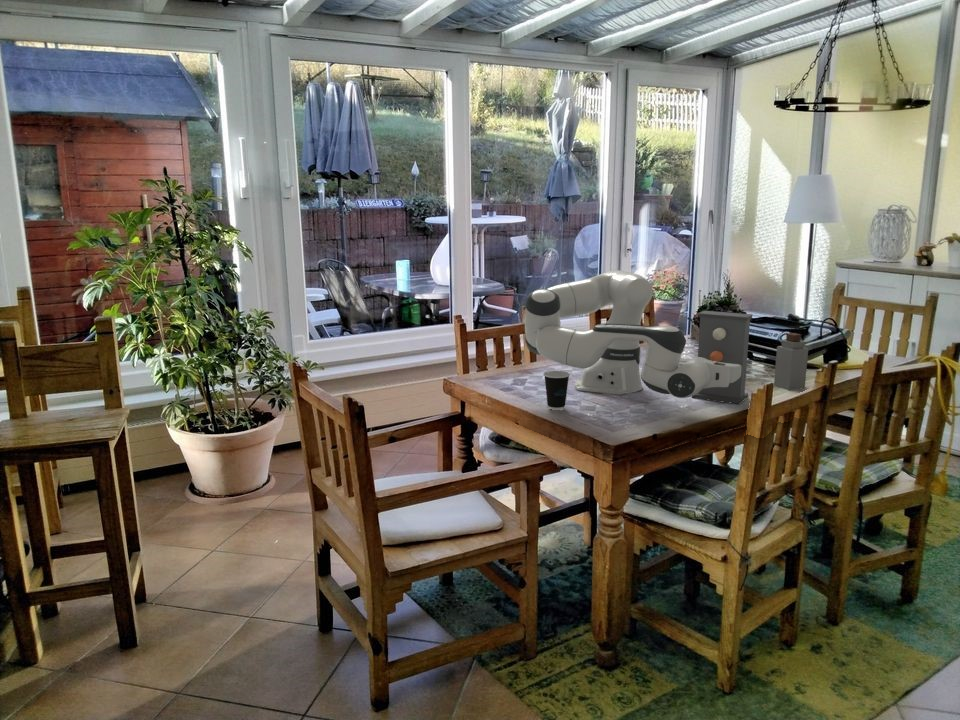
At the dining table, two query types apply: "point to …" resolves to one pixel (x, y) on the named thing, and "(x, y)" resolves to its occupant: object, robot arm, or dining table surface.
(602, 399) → the dining table surface
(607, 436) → the dining table surface
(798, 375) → the perfume bottle
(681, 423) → the dining table surface
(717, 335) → the button top
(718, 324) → the button column
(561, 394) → the dixie cup
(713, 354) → the button middle
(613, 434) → the dining table surface
